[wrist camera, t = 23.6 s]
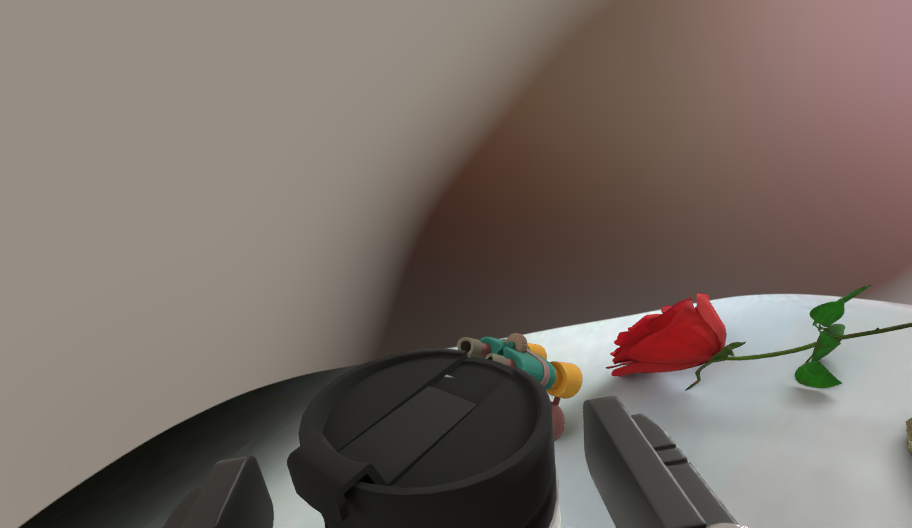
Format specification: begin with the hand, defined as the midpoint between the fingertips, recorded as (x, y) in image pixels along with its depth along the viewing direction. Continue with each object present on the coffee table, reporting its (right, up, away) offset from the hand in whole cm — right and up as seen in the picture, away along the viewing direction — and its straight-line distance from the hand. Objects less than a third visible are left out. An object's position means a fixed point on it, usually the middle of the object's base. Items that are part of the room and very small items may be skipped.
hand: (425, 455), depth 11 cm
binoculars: (+7, -10, +28) cm, 31 cm away
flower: (+30, -5, +32) cm, 44 cm away
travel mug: (+2, -17, +7) cm, 19 cm away
